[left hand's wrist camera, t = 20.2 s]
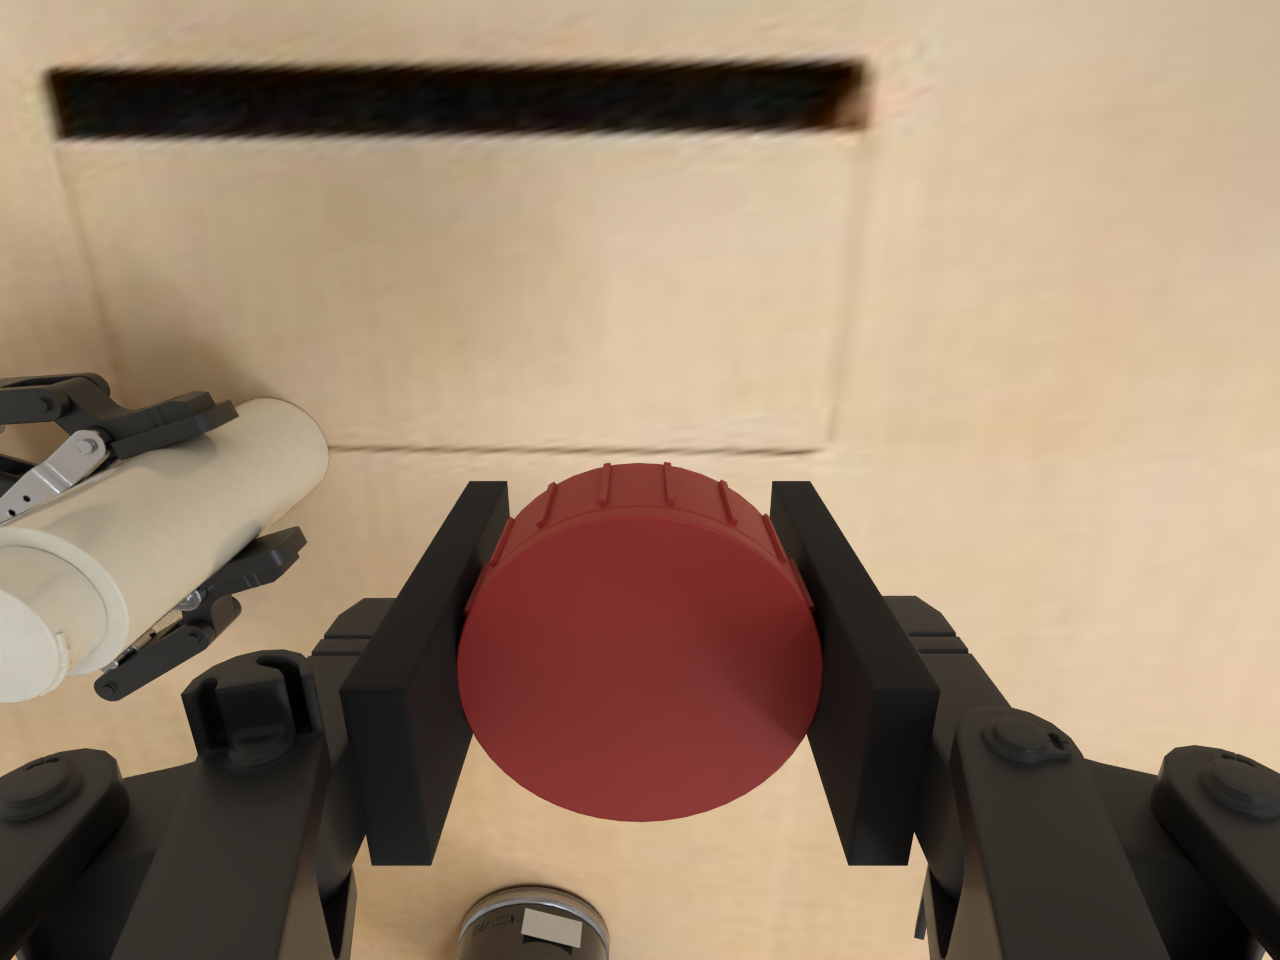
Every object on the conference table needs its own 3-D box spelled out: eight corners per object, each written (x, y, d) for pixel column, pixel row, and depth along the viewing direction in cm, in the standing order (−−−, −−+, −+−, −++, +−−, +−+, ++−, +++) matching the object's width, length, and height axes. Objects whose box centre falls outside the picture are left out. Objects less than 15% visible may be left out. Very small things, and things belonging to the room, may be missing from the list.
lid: (860, 551, 12) (905, 619, 10) (693, 774, 14) (702, 871, 12) (572, 397, 11) (557, 439, 9) (432, 659, 13) (393, 743, 11)
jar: (232, 495, 33) (-84, 716, 19) (213, 395, 32) (-151, 556, 17) (334, 499, 33) (98, 723, 19) (322, 399, 32) (50, 564, 17)
